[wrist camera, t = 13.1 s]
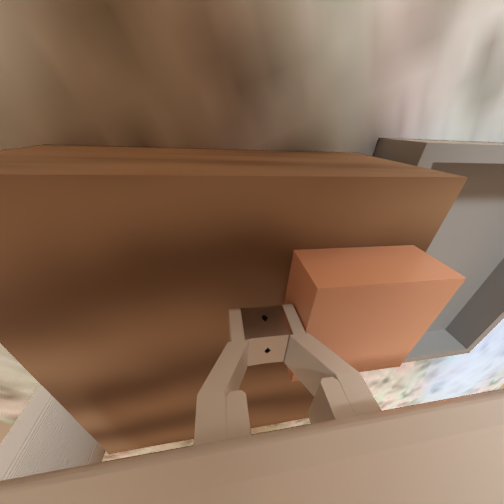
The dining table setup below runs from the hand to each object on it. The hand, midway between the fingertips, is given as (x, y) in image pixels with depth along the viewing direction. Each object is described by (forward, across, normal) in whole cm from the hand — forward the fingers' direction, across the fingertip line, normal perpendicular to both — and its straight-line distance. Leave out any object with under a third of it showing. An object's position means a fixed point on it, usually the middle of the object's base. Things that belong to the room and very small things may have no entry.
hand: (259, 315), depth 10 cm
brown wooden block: (+9, +1, +5) cm, 10 cm away
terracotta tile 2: (+1, -4, 0) cm, 5 cm away
